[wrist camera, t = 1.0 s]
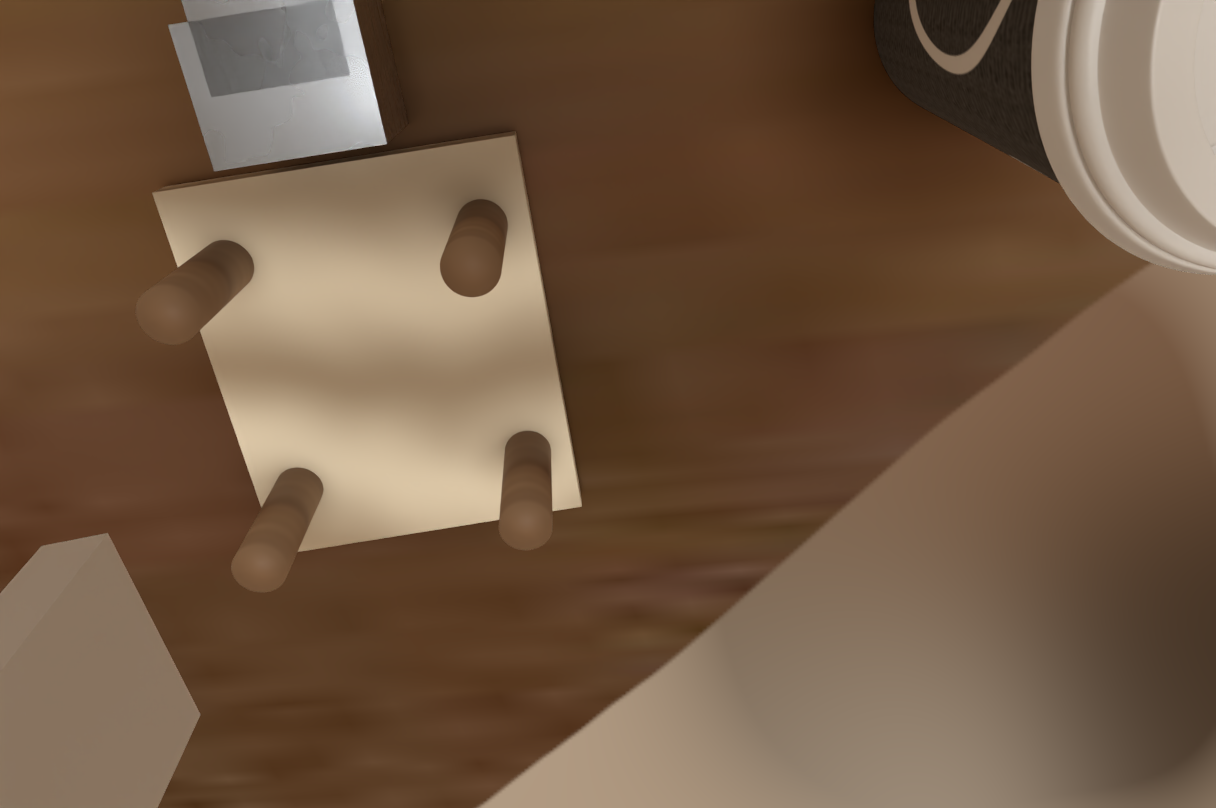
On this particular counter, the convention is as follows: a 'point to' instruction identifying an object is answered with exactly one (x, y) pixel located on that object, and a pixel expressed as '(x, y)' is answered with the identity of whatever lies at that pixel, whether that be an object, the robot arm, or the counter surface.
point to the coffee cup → (1080, 103)
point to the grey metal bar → (288, 77)
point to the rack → (374, 346)
